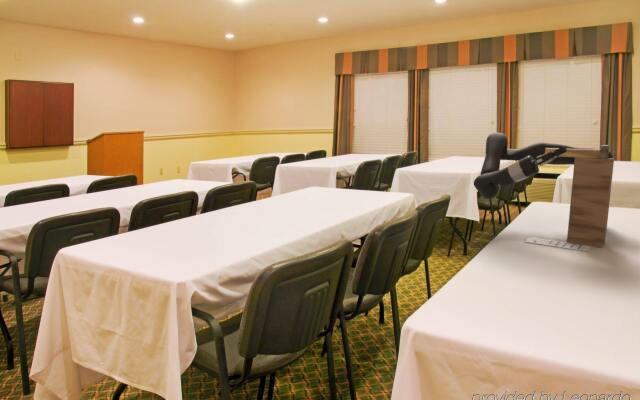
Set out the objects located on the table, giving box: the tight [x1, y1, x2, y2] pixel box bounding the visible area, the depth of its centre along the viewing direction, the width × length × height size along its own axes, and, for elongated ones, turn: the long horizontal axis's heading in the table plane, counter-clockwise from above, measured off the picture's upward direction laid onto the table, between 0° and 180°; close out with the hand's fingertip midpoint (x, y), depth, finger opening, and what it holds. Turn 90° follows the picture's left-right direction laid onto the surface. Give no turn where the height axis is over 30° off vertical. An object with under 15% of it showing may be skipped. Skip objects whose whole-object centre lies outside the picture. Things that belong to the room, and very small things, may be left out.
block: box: [545, 148, 600, 158], centre depth 189 cm, size 3×20×3 cm, turn 53°
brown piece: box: [566, 144, 615, 249], centre depth 188 cm, size 6×12×37 cm, turn 53°
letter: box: [524, 237, 592, 253], centre depth 189 cm, size 8×21×1 cm, turn 53°
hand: (566, 148), depth 191 cm, fingers closed on block, 2 cm apart
